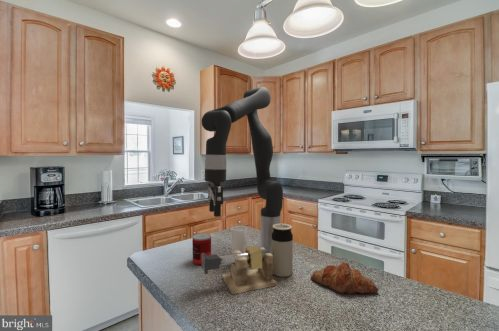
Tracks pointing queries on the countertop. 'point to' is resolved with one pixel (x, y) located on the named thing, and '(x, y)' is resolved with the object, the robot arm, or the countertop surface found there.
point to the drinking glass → (239, 238)
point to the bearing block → (249, 275)
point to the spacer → (254, 257)
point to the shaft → (223, 260)
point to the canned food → (201, 247)
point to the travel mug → (282, 250)
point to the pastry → (344, 280)
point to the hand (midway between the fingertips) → (214, 213)
